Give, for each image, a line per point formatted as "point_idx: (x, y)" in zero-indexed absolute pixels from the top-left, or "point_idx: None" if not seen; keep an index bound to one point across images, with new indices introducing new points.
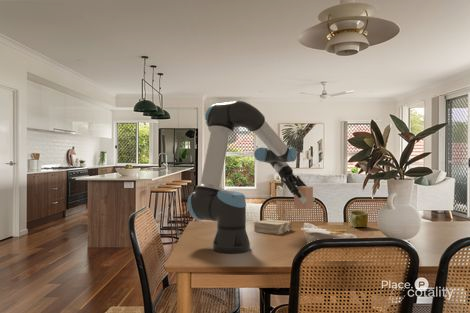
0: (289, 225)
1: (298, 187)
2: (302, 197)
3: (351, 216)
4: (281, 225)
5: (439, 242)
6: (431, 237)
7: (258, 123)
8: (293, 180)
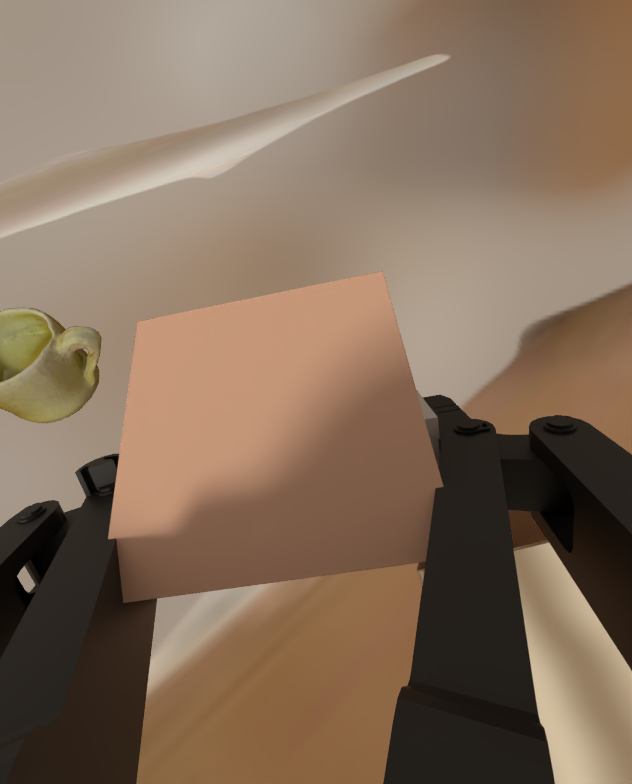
0: None
1: (424, 424)
2: None
3: (51, 369)
4: None
5: (190, 139)
6: (131, 173)
7: None
8: (446, 726)
